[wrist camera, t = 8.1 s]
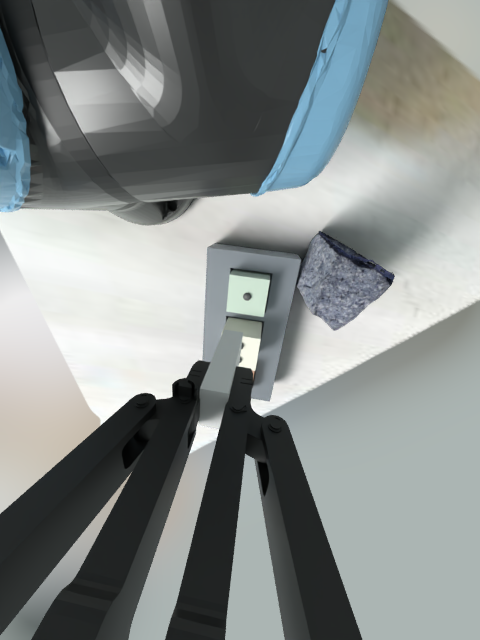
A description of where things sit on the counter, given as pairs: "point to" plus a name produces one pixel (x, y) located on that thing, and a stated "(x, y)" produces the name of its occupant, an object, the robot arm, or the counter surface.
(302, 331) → the counter surface
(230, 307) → the tile one
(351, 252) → the stone
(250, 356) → the tile two
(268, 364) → the key board
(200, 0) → the robot arm
